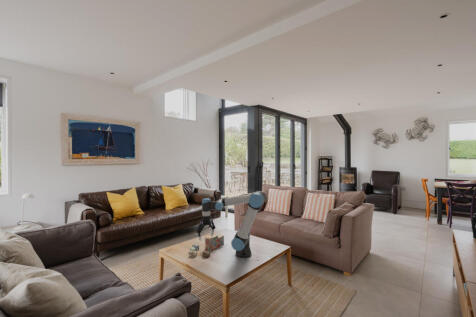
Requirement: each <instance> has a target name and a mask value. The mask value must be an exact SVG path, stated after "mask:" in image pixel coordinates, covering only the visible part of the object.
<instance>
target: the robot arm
mask: <svg viewBox="0 0 476 317" xmlns="http://www.w3.org/2000/svg"><path fill="white" fill-rule="evenodd" d="M266 199H267V196H266V193H264V191H262V190H257V191H254V192H250V194H244V195H237V196H230V197H225V198H224V197H221V198H218V199H217V200H216V201H213V200H211V198H207V197H206V198H202V200H201V215H202V216H201V221H199V223H198V226H197V228H196V232H195V233H197V234H198V240H199V241H202V231H203V229H204V228H205V227H206V226H209V228H210V235H211V236H212V237H213V234H214V233H215V229H216V225H215V223H214V220H213V219H212V218H211V210H213V211H222V210H223V208H224V207H227V206H236V205H243V204H247V210H246V212H245V214H244V218H243V219H242V221H241V224H240V227H239V229H237V231H236V232H235V235H234V236H233V238H232V240H231V242H230V244H231V248H232V249H233V250H235V256H236V257H237V258H240V259H245V258H246V259H247V258H250V257H251V256H252V254H253V253H252V249H251V246H250V242H251V239H250V238H251V237H250V234H251V233H250V231H251V228H252V226H253V223H254V220H255V219H256V215H257V214H258V212H259V211H261V208H262V206H263V204H264V203H265V202H266Z"/></svg>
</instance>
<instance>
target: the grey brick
mask: <svg viewBox="0 0 476 317" xmlns="http://www.w3.org/2000/svg"><path fill="white" fill-rule="evenodd" d="M191 247H194V248H195V249H196V251H197V252H198V251H199V250H200V245H199V244H195V243H194V244H192V245H191Z"/></svg>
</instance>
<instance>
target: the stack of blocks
mask: <svg viewBox="0 0 476 317" xmlns="http://www.w3.org/2000/svg"><path fill="white" fill-rule="evenodd" d="M204 238H205V240H204V242H205V243H204V246H205V247H204V251H208V252H210V251H212V250H215V249H217V248H220V247H222V246H223V245H224V244H225V236H224V235H223V234H214V233H213V237H212V236H211V234H210V235H208V236H206V237H204Z"/></svg>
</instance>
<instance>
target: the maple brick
mask: <svg viewBox="0 0 476 317" xmlns="http://www.w3.org/2000/svg"><path fill="white" fill-rule="evenodd" d="M189 257H193V258H196V257H198V250H197V251H190V250H189Z"/></svg>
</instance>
